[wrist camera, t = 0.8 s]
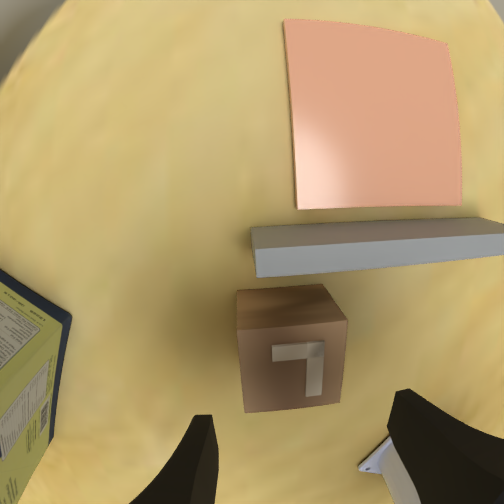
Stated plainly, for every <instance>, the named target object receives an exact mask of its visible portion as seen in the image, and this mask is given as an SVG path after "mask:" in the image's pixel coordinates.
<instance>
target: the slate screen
mask: <svg viewBox="0 0 504 504" xmlns="http://www.w3.org/2000/svg"><path fill="white" fill-rule="evenodd" d="M251 242H252V252H253V258H254V264H255V270H256V276H257V278H264V277H278V276H291V275H305V274H317V273H329V272H341V271H353V270H364V269H375V268H386V267H396V266H407V265H417V264H427V263H436V262H446V261H455V260H464V259H473V258H481V257H490V256H498V255H504V224H502V223H498V222H495V221H491V220H487V219H484V218H442V219H410V220H384V221H360V222H339V223H319V224H300V225H283V226H266V227H251Z"/></svg>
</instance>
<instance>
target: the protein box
mask: <svg viewBox="0 0 504 504" xmlns="http://www.w3.org/2000/svg"><path fill="white" fill-rule="evenodd" d="M71 320H72V316H71V315H70V314H69V313H67V312H66V311H64V310H62V309H60V308H59V307H57V306H55V305H54V304H52V303H50V302H49V301H47V300H45V299H44V298H42V297H41V296H39V295H37V294H36V293H34V292H33V291H31V290H30V289H28V288H27V287H25V286H23V285H22V284H20V283H19V282H17V281H16V280H14V279H13V278H11V277H10V276H9V275H7V274H6V273H4V272H3V271H1V270H0V504H17V503H18V501H19V499H20V497H21V495H22V493H23V492H24V490H25V488H26V486H27V484H28V482H29V480H30V478H31V476H32V474H33V472H34V471H35V469H36V467H37V466H38V464H39V462H40V460H41V458H42V457H43V455H44V453H45V451H46V449H47V447H48V446H49V444H50V442H51V440H52V438H53V436H54V423H55V414H56V405H57V398H58V390H59V384H60V377H61V371H62V366H63V360H64V354H65V349H66V344H67V339H68V335H69V330H70V325H71Z"/></svg>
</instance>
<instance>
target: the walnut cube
mask: <svg viewBox="0 0 504 504" xmlns="http://www.w3.org/2000/svg"><path fill="white" fill-rule="evenodd" d="M347 324H348V320H347V318H346V317H345V315H344V314H343V313H342V311H341V310H340V308H339V307H338V305H337V304H336V303H335V301H334V300H333V298H332V297H331V295H330V294H329V293H328V291H327V290H326V288H325V287H324V286H323V284H314V285H302V286H289V287H276V288H263V289H248V290H237V339H238V350H239V361H240V371H241V381H242V391H243V401H244V411H245V413H254V412H267V411H278V410H288V409H297V408H306V407H313V406H321V405H327V404H334V403H340V397H341V389H342V380H343V371H344V361H345V350H346V338H347Z"/></svg>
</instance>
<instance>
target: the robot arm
mask: <svg viewBox="0 0 504 504" xmlns="http://www.w3.org/2000/svg"><path fill="white" fill-rule="evenodd" d="M387 428H388V431H389V434H390V436H389V437H388V438H387V439H386V440H385V441H384V442H383V443H382V444H381V445H380V446H379V447H378V448H377V449H376V450H375V451H374V452H373V453H372V454H371V455H370V456H369V457H368V458H367V459H366V460H364V461H363V462H362V463H361V464H360V465H359V466H358V468H359V471H364V472H370V473H377V474H382V475H383V478H384V480H385V482H386V485H387V487H388V489H389V492H390V494H391V497H392V499H393V501H394V504H504V439H501V438H498V437H495V436H492V435H489V434H486V433H484V432H482V431H479V430H477V429H475V428H472V427H470V426H468V425H466V424H464V423H463V422H461V421H459V420H457V419H455V418H454V417H452V416H450V415H449V414H447V413H445V412H444V411H442V410H441V409H439V408H438V407H436V406H435V405H433V404H432V403H430V402H429V401H427V400H426V399H424V398H423V397H421V396H420V395H418V394H417V393H415V392H414V391H412V390H411V389H405V390H400V391H396V393H395V398H394V402H393V406H392V410H391V413H390V417H389V421H388V424H387ZM218 471H219V453H218V444H217V439H216V434H215V429H214V424H213V418H212V415H195V416H194V417H193V419H192V421H191V423H190V425H189V427H188V429H187V431H186V433H185V435H184V437H183V438H182V440H181V442H180V443H179V445H178V447H177V448H176V450H175V451H174V453H173V455H172V456H171V457H170V459H169V460H168V462H167V463H166V464H165V466H164V467H163V468H162V470H161V471H160V472H159V474H158V475H157V476H156V477H155V478H154V480H153V481H152V482H151V483H150V484H149V485H148V486H147V487H146V488H145V489H144V490H143V491H142V492H141V493H140V494H139V495H138V496H137V497H136V498H135V499H134V500H133V501H131V502H130V503H129V504H214V503H215V495H216V487H217V479H218Z"/></svg>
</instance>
